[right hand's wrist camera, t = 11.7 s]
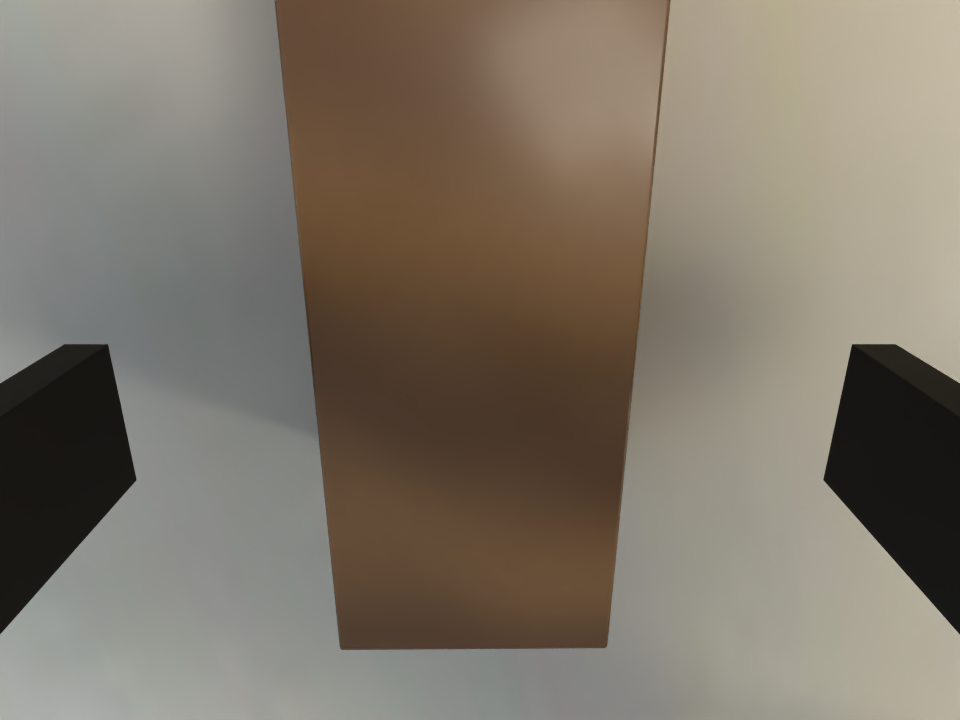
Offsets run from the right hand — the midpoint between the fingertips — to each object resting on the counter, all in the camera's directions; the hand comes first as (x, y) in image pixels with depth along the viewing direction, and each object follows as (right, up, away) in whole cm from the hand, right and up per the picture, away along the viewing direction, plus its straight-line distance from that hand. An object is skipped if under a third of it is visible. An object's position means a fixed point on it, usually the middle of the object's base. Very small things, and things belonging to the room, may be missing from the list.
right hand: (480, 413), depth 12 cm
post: (0, +31, -5) cm, 31 cm away
